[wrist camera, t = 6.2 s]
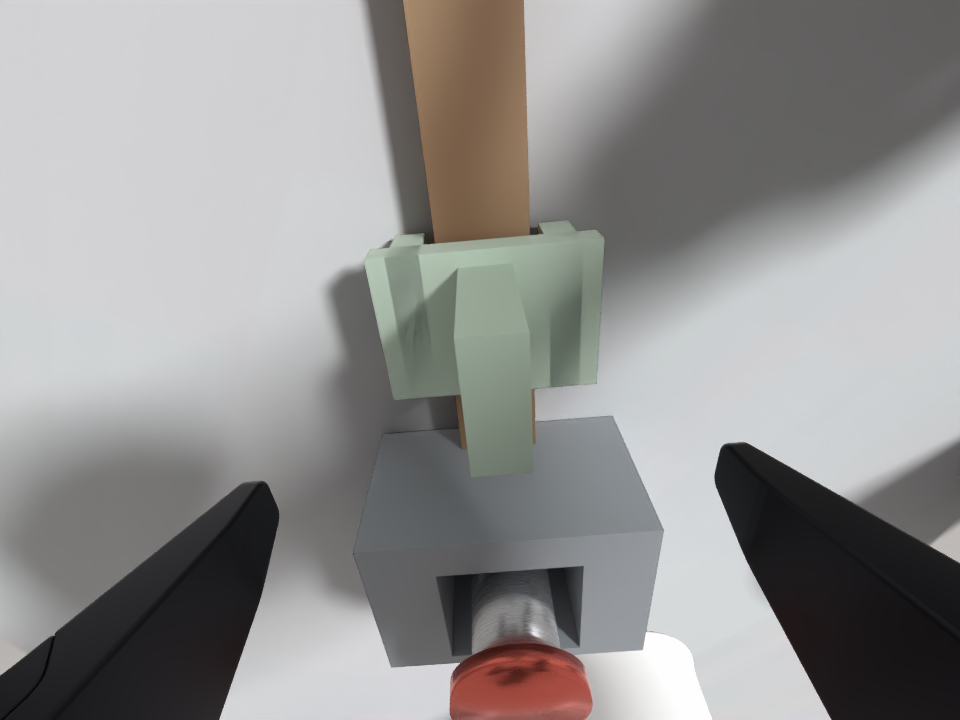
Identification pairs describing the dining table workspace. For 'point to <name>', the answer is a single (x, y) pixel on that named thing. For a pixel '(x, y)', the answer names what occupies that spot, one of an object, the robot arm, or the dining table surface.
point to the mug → (645, 683)
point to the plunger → (517, 655)
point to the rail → (472, 120)
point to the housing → (508, 539)
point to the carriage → (490, 328)
